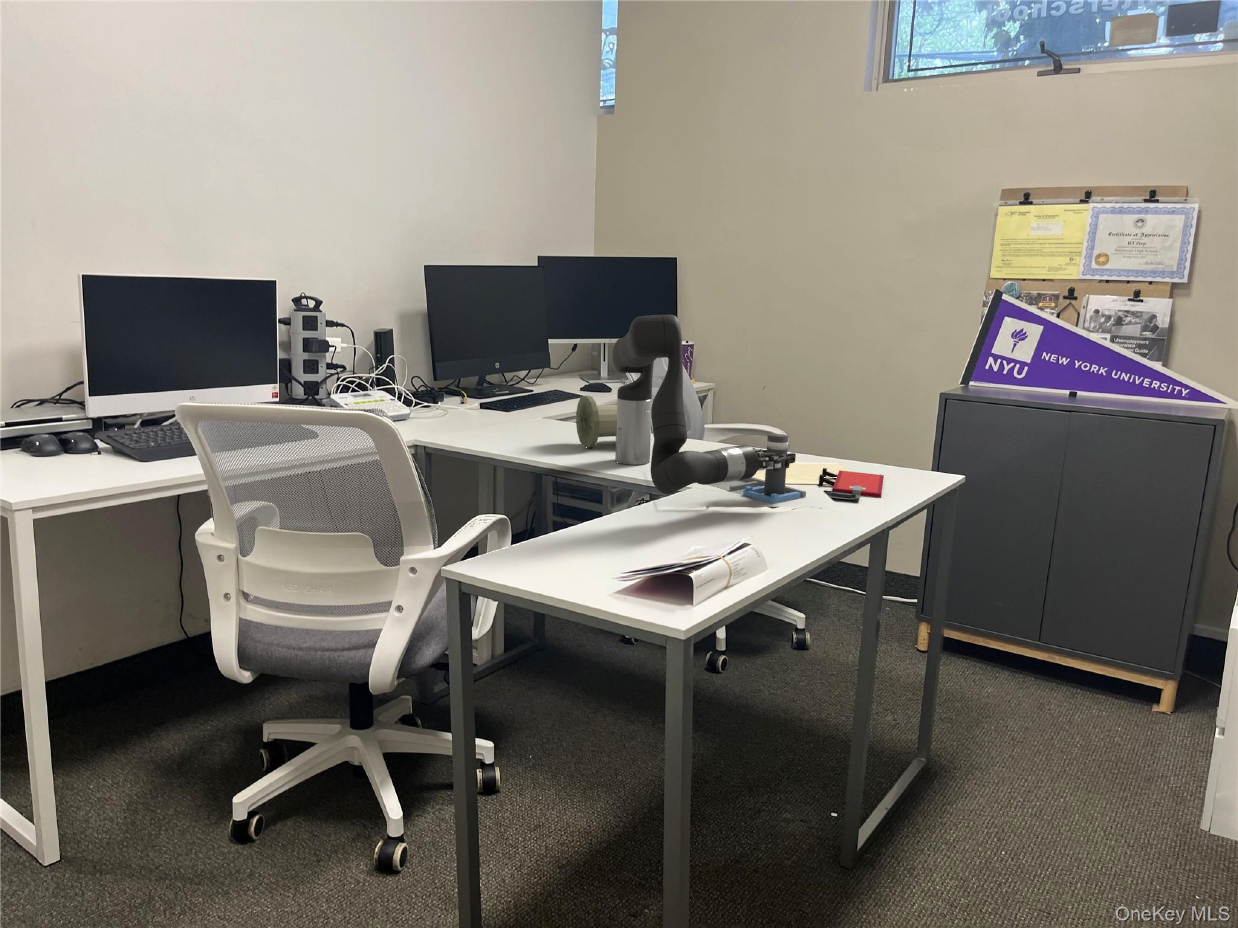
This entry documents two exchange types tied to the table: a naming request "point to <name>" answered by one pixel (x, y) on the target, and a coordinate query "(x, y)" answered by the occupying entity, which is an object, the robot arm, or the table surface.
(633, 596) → the table surface
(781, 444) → the banded grey cylinder
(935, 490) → the table surface
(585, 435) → the spool
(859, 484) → the red board with handle
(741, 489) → the blue and grey tray
